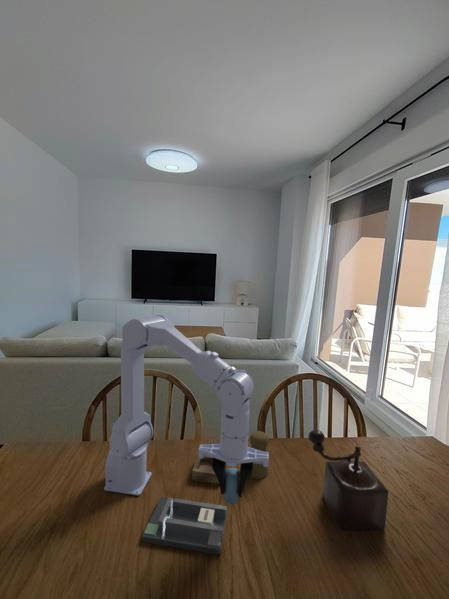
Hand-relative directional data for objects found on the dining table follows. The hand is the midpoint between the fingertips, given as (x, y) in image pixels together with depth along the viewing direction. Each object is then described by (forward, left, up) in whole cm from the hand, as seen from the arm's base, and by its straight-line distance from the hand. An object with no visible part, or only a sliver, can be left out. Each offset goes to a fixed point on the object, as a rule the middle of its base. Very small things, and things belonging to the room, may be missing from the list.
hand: (231, 492), depth 62 cm
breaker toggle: (-5, 0, -8) cm, 9 cm away
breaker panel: (-9, 0, -9) cm, 13 cm away
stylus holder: (-8, +17, -9) cm, 21 cm away
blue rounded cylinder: (0, 0, -2) cm, 2 cm away
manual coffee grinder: (+25, +10, -9) cm, 29 cm away
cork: (+5, +20, -9) cm, 23 cm away
